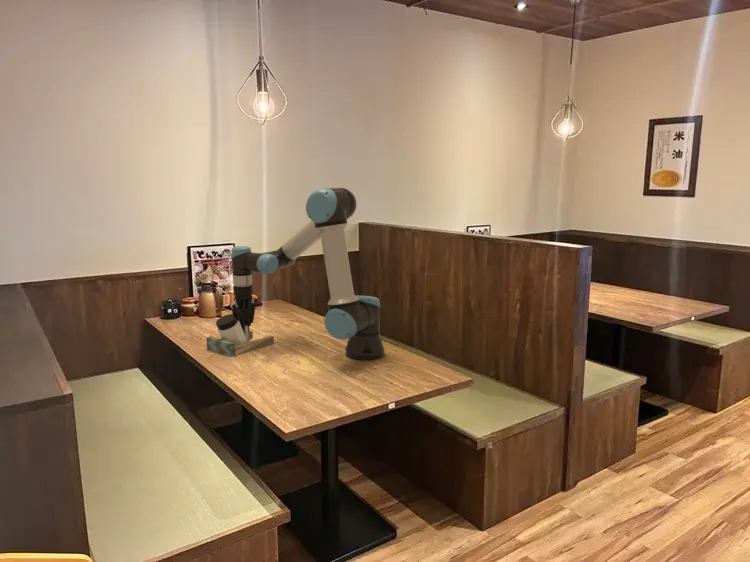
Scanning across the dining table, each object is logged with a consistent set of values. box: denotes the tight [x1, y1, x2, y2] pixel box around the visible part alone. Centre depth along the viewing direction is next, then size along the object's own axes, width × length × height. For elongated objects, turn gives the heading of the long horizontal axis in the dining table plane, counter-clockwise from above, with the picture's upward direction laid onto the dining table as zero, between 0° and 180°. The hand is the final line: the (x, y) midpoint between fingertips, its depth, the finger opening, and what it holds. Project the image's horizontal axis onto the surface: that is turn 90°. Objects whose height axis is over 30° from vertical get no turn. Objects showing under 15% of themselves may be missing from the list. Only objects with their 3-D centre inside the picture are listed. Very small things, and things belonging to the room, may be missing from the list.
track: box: [205, 329, 275, 358], centre depth 234 cm, size 15×22×5 cm
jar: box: [215, 313, 247, 346], centre depth 230 cm, size 9×8×12 cm
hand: (245, 341), depth 236 cm, fingers closed
